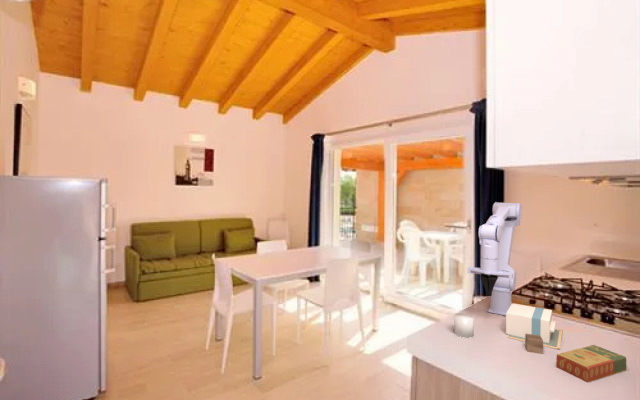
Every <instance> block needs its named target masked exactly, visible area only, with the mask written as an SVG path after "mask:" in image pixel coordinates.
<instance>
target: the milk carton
mask: <svg viewBox="0 0 640 400" xmlns="http://www.w3.org/2000/svg"><path fill="white" fill-rule="evenodd" d="M552 315H553V310H552V309H547V308H543V307H539V306H538V307H537V306H536V307H535V306H530V305H524V304H519V303H514V302H513V303H512V302H511V306H510V308H509V309H508V311H507V313H506V315H505V334H507V335H509V334H510V335H514V336H519V337H523V338H525V334H532V335H539V336H541V338H542V340H543V342H546V343H549V341H550V336H551V332H554V331H555V329H556V325H557V321H556V320H555V321H554V320H553V316H552Z"/></svg>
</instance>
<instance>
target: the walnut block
mask: <svg viewBox="0 0 640 400" xmlns="http://www.w3.org/2000/svg"><path fill="white" fill-rule="evenodd" d="M524 347H525V350H526V351H527V352H529V353H533V354H540V355H543V354H544V346H543V340H542V338H541V336H539V335H532V334H525V342H524Z"/></svg>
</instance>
